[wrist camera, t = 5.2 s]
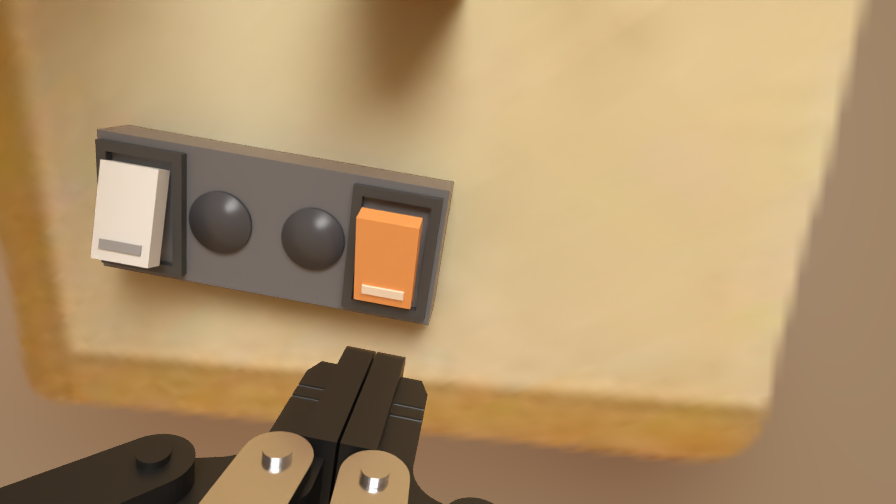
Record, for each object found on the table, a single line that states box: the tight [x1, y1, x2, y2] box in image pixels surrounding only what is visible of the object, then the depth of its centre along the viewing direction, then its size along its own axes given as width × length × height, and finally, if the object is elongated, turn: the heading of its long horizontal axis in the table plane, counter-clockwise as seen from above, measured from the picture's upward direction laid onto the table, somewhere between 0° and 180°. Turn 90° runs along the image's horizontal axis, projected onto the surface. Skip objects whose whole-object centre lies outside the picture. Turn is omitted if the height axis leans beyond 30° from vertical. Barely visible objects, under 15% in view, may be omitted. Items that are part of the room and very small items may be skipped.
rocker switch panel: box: [95, 125, 454, 325], centre depth 35 cm, size 9×22×4 cm, turn 81°
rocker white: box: [91, 159, 170, 268], centre depth 33 cm, size 6×4×1 cm, turn 171°
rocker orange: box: [354, 207, 423, 309], centre depth 32 cm, size 6×4×1 cm, turn 171°
